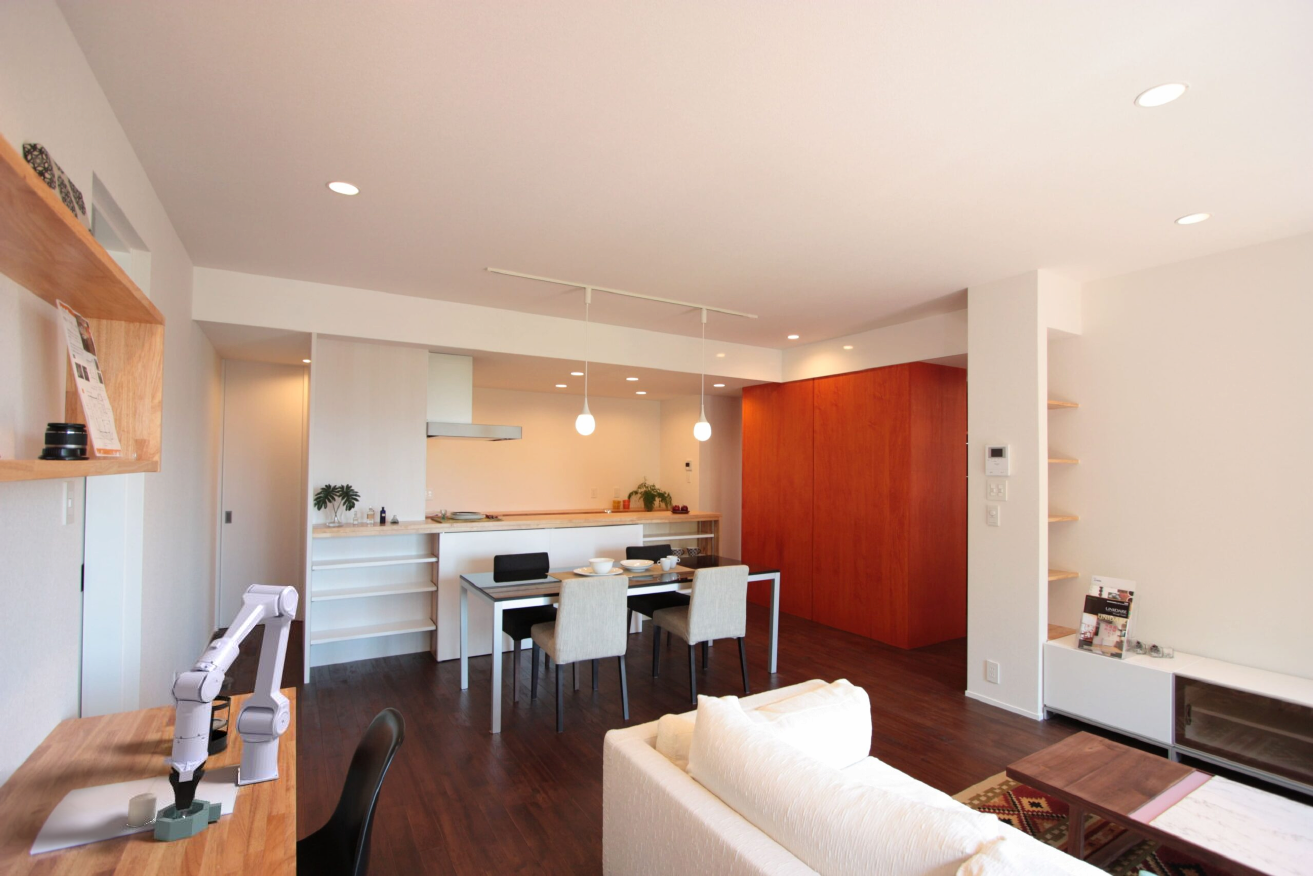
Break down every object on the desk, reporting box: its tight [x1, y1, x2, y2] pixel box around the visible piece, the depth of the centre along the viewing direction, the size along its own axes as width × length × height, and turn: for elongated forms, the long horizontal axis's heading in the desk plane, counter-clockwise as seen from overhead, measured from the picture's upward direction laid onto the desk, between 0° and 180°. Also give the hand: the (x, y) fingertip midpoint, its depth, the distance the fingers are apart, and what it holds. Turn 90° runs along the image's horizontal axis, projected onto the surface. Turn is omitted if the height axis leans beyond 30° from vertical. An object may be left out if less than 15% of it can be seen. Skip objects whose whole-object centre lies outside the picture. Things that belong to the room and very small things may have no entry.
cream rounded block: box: [126, 792, 158, 827], centre depth 127 cm, size 4×4×4 cm
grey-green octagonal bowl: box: [153, 798, 223, 842], centre depth 125 cm, size 8×10×4 cm
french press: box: [207, 676, 234, 757], centre depth 161 cm, size 12×9×23 cm
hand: (184, 804), depth 125 cm, fingers closed on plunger, 3 cm apart
